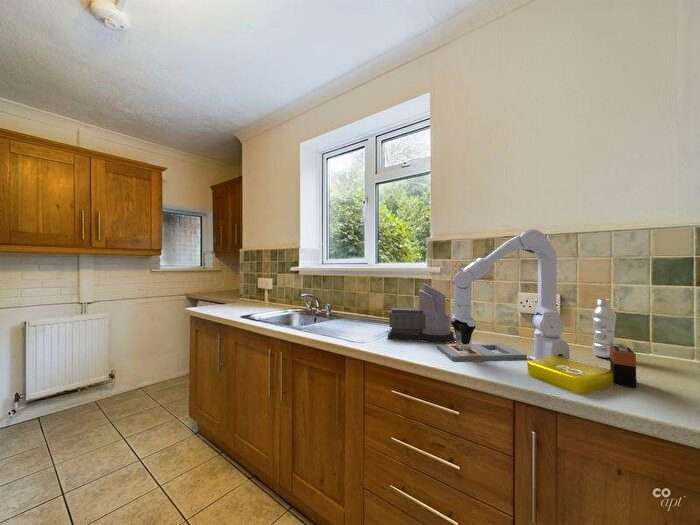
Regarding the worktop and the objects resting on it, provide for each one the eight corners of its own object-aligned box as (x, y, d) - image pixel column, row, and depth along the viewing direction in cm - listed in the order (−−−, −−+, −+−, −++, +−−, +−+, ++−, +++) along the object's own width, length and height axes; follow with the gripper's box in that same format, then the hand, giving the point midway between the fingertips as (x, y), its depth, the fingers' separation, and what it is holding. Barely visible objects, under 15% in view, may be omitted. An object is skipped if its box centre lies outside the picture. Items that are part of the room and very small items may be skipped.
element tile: (617, 387, 74) (617, 369, 74) (581, 397, 69) (581, 377, 69) (557, 368, 88) (557, 353, 88) (524, 375, 83) (524, 359, 83)
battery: (631, 380, 78) (630, 344, 78) (637, 389, 72) (636, 350, 72) (610, 376, 80) (609, 341, 80) (613, 384, 75) (613, 347, 75)
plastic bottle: (609, 355, 99) (608, 298, 100) (622, 361, 93) (621, 301, 93) (587, 353, 101) (587, 298, 101) (598, 359, 95) (598, 300, 95)
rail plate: (526, 359, 95) (526, 354, 96) (452, 360, 94) (452, 355, 94) (502, 347, 109) (502, 342, 109) (437, 348, 108) (437, 344, 108)
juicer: (453, 334, 130) (452, 282, 130) (460, 344, 114) (459, 284, 115) (388, 332, 136) (388, 281, 136) (386, 340, 120) (386, 283, 120)
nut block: (471, 349, 100) (471, 332, 100) (460, 349, 99) (460, 332, 99) (466, 346, 104) (466, 329, 104) (455, 346, 103) (455, 330, 103)
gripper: (444, 302, 109) (444, 337, 109) (460, 307, 94) (461, 348, 94) (461, 302, 109) (461, 337, 109) (481, 307, 95) (481, 347, 94)
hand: (462, 342), depth 101 cm, fingers closed on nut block, 4 cm apart
